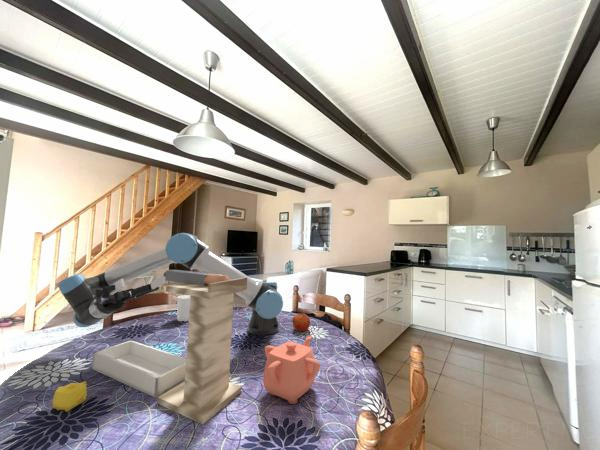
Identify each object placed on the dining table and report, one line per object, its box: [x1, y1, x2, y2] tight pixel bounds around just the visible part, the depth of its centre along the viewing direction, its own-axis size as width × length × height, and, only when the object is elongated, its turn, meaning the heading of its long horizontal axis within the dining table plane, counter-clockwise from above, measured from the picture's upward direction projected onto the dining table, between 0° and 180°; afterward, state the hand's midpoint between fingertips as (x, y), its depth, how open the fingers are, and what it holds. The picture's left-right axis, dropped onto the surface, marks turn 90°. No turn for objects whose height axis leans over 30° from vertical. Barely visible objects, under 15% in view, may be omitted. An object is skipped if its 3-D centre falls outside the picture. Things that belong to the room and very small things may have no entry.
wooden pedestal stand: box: [156, 277, 247, 426], centre depth 66 cm, size 16×14×32 cm
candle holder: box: [176, 294, 191, 322], centre depth 130 cm, size 10×10×12 cm
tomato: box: [292, 312, 311, 332], centre depth 119 cm, size 9×9×8 cm
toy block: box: [51, 381, 88, 413], centre depth 61 cm, size 8×6×5 cm
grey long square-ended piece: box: [162, 269, 229, 286], centre depth 70 cm, size 24×3×3 cm, turn 65°
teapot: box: [262, 334, 321, 405], centre depth 70 cm, size 17×16×13 cm
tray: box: [91, 340, 186, 399], centre depth 76 cm, size 32×12×5 cm, turn 65°
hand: (144, 280), depth 80 cm, fingers open, 13 cm apart
